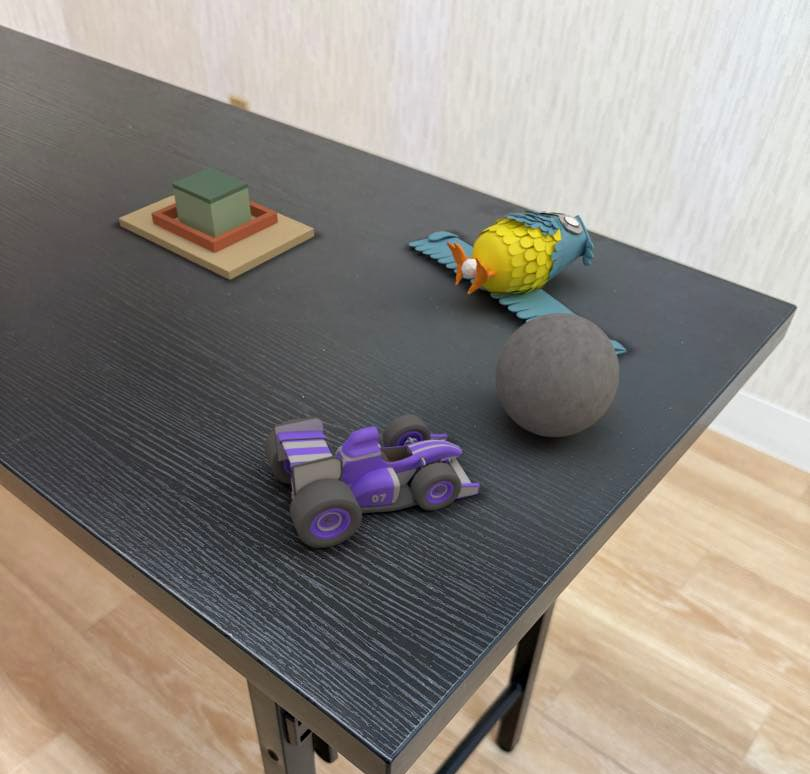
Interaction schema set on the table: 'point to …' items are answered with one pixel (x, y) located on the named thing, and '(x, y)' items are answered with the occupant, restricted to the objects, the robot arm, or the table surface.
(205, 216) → the green lidded box
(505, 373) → the decorative ball
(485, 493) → the table surface
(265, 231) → the wooden board with frame
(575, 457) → the table surface
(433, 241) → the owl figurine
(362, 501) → the toy race car
